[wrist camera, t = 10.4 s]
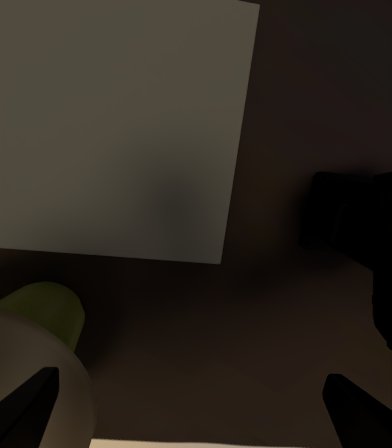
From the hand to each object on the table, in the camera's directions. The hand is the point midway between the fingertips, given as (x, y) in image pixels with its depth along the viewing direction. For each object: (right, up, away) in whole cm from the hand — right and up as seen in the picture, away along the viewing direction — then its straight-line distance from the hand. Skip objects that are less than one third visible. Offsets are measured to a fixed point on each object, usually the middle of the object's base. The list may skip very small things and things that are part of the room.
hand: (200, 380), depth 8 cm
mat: (-6, +12, +10) cm, 16 cm away
